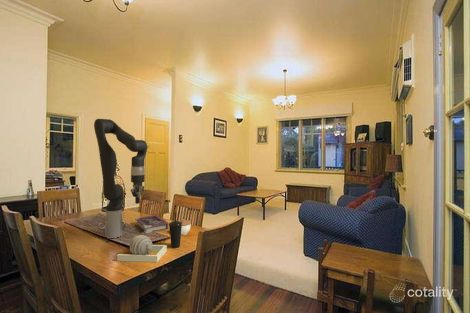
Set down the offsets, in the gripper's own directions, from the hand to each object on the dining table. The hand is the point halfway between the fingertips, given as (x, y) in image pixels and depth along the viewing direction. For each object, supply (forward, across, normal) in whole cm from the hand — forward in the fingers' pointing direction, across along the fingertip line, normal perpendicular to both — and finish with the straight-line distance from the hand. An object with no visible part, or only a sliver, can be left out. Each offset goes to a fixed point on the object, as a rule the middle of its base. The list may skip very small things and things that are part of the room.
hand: (137, 203), depth 148 cm
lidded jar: (+24, -21, +21) cm, 38 cm away
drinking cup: (+24, +2, +24) cm, 34 cm away
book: (+25, -34, -6) cm, 42 cm away
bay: (+24, +15, +10) cm, 30 cm away
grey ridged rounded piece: (+24, +17, +10) cm, 32 cm away
